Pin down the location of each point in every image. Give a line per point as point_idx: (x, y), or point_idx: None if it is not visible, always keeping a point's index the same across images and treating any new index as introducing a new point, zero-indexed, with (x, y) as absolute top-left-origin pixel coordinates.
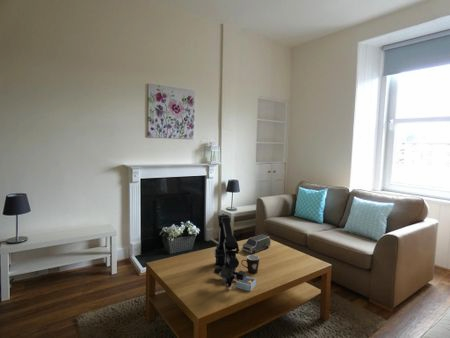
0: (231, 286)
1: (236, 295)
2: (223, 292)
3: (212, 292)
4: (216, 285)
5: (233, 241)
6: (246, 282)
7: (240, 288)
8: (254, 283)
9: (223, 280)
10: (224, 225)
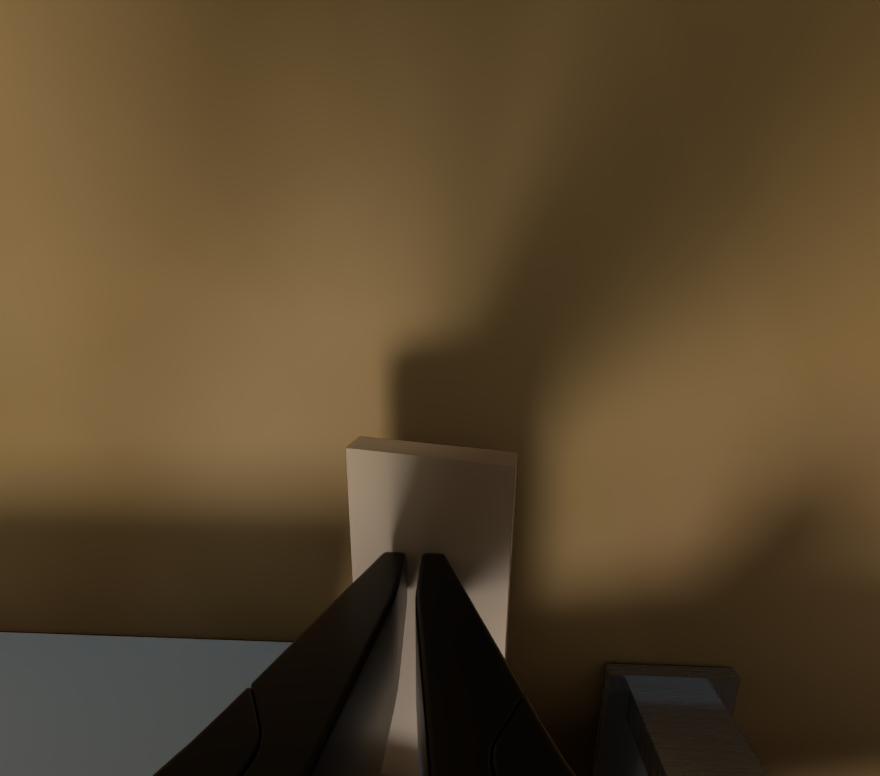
0: None
1: (111, 322)
2: (503, 290)
3: (838, 113)
4: (831, 526)
5: None
6: None
7: (203, 641)
8: None
9: (728, 760)
10: None
